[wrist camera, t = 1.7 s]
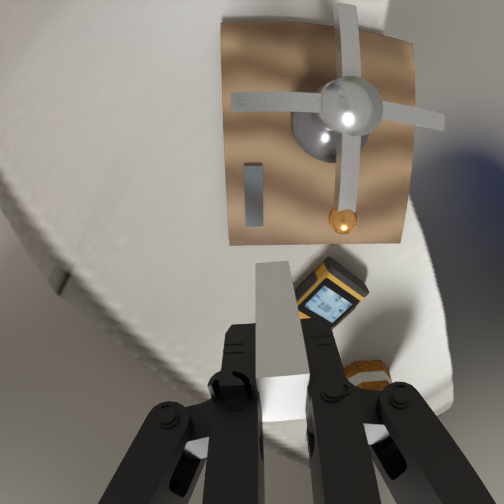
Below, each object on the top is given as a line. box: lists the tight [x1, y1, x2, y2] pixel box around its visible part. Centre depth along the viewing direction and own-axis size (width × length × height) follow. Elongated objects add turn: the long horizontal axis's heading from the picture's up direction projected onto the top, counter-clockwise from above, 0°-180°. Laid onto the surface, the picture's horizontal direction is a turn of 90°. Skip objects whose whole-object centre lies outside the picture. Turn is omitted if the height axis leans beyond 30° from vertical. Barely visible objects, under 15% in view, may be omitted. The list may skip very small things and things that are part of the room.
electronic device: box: [294, 257, 369, 329], centre depth 39 cm, size 8×16×3 cm, turn 144°
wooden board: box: [221, 22, 415, 246], centre depth 28 cm, size 26×22×2 cm
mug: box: [343, 360, 392, 391], centre depth 43 cm, size 20×14×15 cm
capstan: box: [230, 3, 445, 234], centre depth 23 cm, size 21×19×8 cm
